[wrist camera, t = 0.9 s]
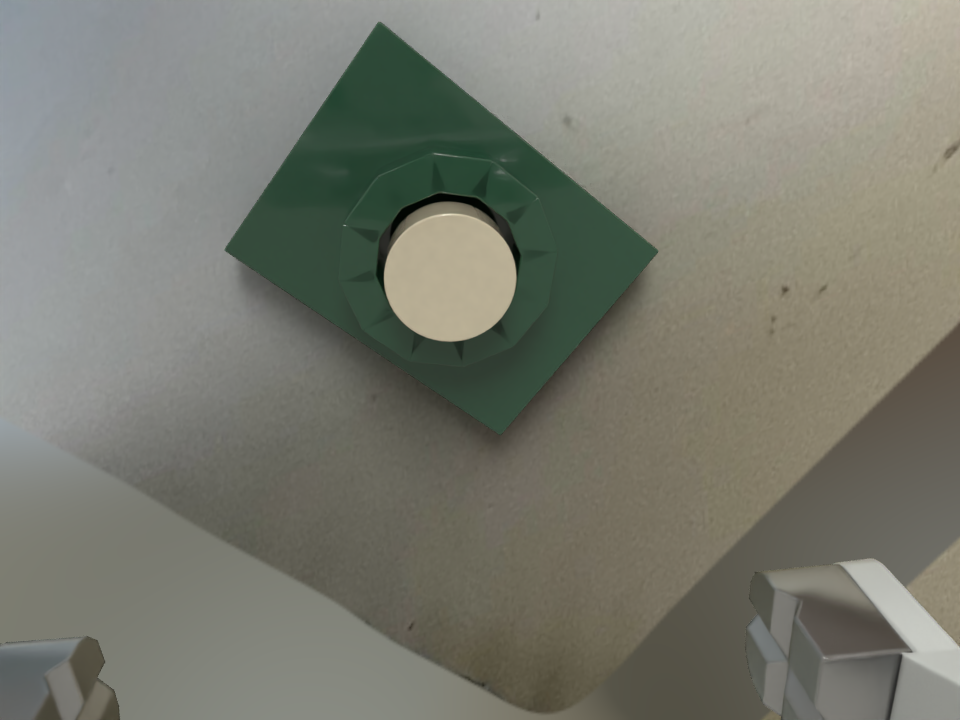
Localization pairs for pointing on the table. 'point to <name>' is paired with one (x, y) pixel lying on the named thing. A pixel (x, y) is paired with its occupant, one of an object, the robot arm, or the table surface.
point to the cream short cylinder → (449, 272)
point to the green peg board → (416, 183)
